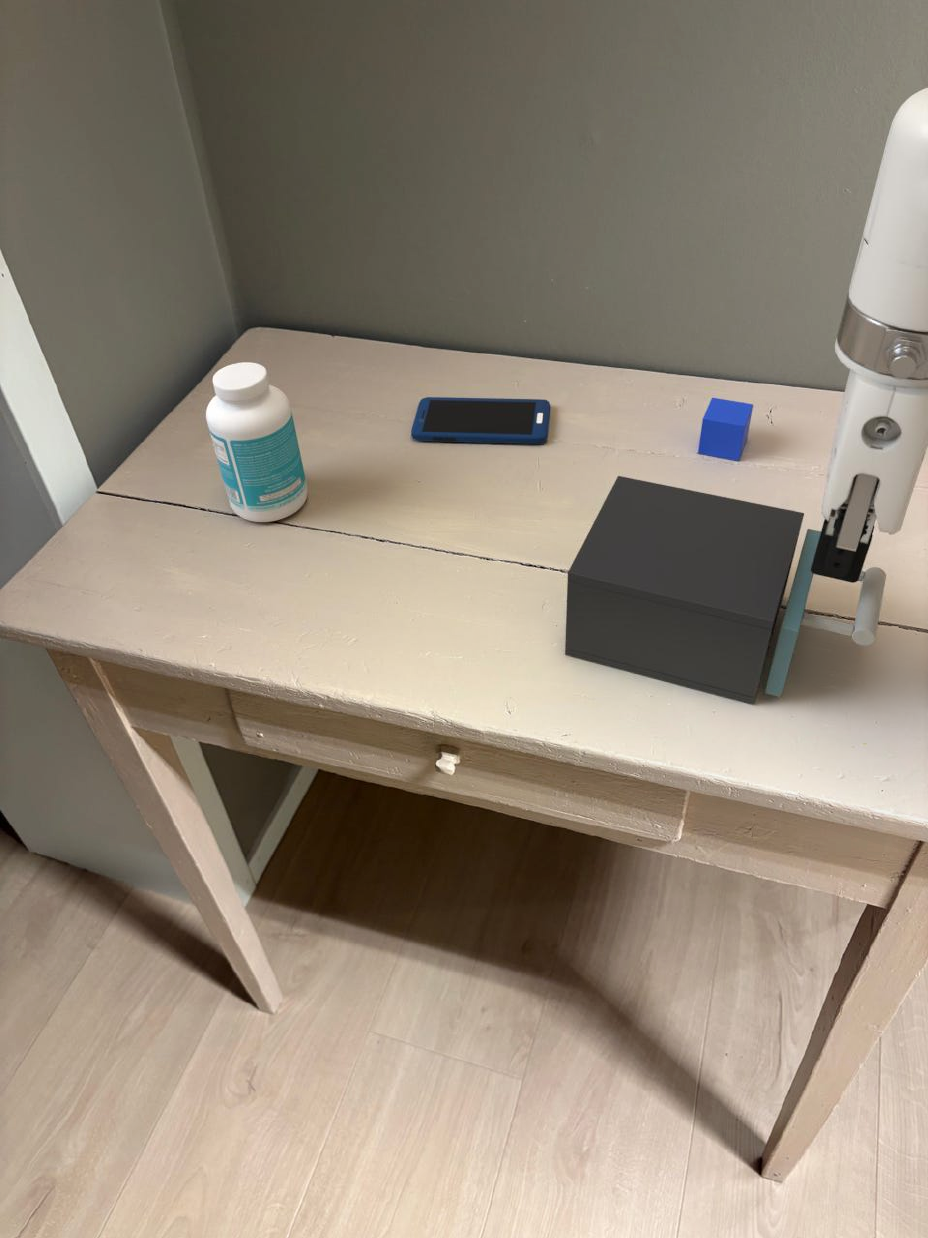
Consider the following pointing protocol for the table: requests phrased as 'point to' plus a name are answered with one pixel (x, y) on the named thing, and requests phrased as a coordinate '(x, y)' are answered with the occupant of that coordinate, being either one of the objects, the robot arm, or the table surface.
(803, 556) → the drawer
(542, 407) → the cell phone
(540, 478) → the table surface
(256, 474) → the pill bottle
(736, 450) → the blue block
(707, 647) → the dark grey drawer cabinet
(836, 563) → the robot arm
